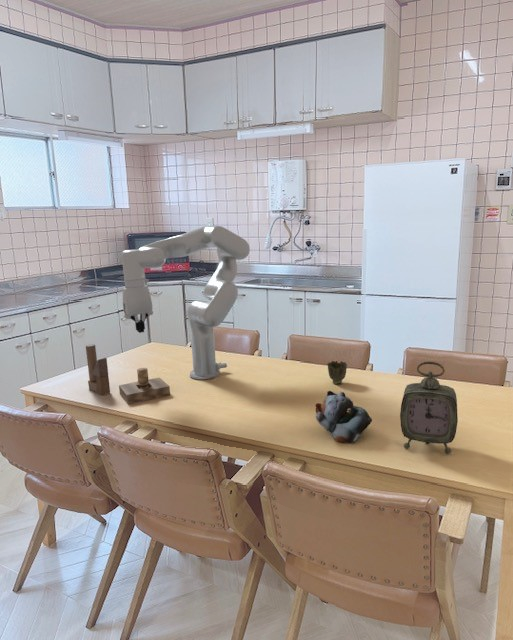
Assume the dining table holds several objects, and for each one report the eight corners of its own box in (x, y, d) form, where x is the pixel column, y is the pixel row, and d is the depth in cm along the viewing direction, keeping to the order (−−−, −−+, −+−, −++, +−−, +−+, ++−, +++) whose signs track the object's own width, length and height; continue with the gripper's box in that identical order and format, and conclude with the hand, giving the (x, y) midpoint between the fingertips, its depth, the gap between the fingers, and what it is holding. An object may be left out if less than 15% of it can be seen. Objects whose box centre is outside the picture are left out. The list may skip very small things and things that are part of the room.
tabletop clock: (399, 450, 135) (401, 364, 130) (401, 436, 143) (404, 354, 138) (455, 458, 130) (460, 368, 124) (455, 443, 138) (459, 358, 133)
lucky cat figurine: (349, 448, 137) (324, 406, 136) (323, 449, 147) (300, 409, 147) (380, 419, 145) (357, 379, 144) (354, 421, 155) (332, 384, 154)
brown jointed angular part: (102, 395, 186) (96, 350, 182) (88, 389, 193) (83, 345, 189) (110, 392, 188) (105, 347, 184) (97, 386, 196) (92, 343, 192)
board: (160, 385, 194) (159, 377, 193) (170, 394, 183) (169, 386, 183) (119, 394, 186) (118, 385, 186) (127, 404, 176) (126, 394, 175)
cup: (325, 385, 187) (325, 365, 185) (330, 379, 194) (329, 360, 192) (344, 387, 184) (344, 367, 183) (348, 381, 191) (348, 361, 189)
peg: (148, 391, 187) (145, 367, 185) (151, 394, 184) (148, 369, 182) (138, 393, 186) (135, 368, 184) (141, 397, 182) (138, 371, 180)
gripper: (151, 280, 186) (156, 326, 190) (112, 285, 179) (118, 333, 183) (158, 282, 180) (163, 330, 184) (117, 287, 173) (123, 337, 177)
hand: (140, 331), depth 184 cm, fingers closed
